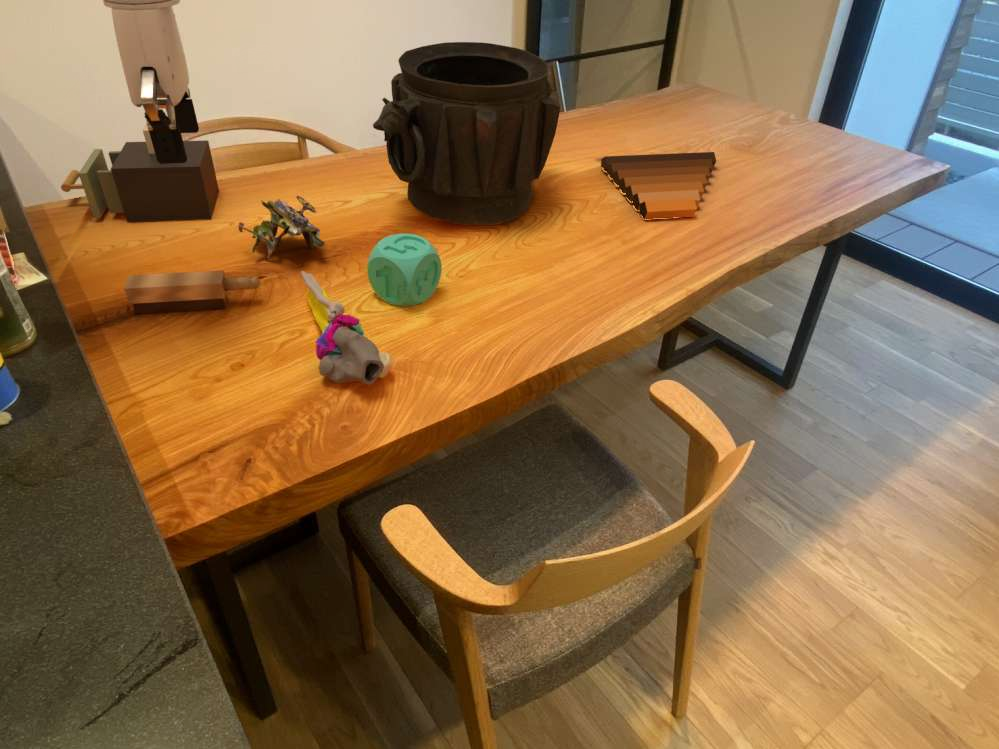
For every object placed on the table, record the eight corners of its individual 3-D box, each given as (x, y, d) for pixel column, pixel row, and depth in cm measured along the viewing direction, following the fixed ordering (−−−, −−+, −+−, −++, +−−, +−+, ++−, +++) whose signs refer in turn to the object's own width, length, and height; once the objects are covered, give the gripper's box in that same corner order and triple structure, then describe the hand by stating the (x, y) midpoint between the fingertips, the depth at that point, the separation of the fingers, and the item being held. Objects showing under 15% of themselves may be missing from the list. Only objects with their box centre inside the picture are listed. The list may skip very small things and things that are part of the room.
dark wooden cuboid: (127, 222, 118) (110, 168, 112) (141, 193, 126) (125, 141, 120) (211, 219, 120) (199, 166, 114) (219, 191, 129) (208, 140, 123)
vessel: (366, 228, 120) (355, 79, 105) (413, 159, 145) (409, 30, 129) (540, 250, 118) (555, 100, 102) (557, 176, 142) (571, 46, 127)
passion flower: (313, 275, 118) (343, 235, 109) (257, 288, 110) (284, 246, 102) (282, 221, 119) (308, 177, 111) (223, 230, 111) (247, 183, 103)
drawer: (66, 218, 116) (49, 174, 111) (82, 192, 124) (67, 149, 119) (172, 214, 119) (160, 171, 114) (181, 189, 127) (171, 147, 122)
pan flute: (706, 163, 152) (599, 168, 147) (710, 148, 150) (602, 153, 145) (765, 214, 133) (645, 222, 128) (770, 198, 131) (648, 205, 126)
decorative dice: (368, 295, 104) (364, 248, 99) (401, 273, 110) (399, 227, 105) (410, 313, 101) (409, 265, 96) (442, 289, 107) (442, 243, 101)
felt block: (149, 154, 117) (142, 130, 114) (153, 145, 120) (147, 122, 117) (174, 153, 118) (168, 130, 115) (177, 144, 121) (172, 121, 118)
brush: (133, 315, 97) (123, 288, 94) (138, 301, 100) (129, 275, 97) (263, 308, 100) (257, 281, 97) (264, 294, 103) (259, 268, 100)
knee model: (330, 325, 106) (391, 405, 87) (278, 317, 101) (330, 400, 83) (346, 269, 103) (413, 341, 84) (293, 259, 98) (352, 331, 80)
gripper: (119, -28, 79) (159, 123, 90) (78, 5, 66) (131, 177, 76) (188, -28, 80) (220, 121, 91) (162, 5, 67) (203, 174, 78)
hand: (179, 146), depth 84 cm, fingers open, 9 cm apart
